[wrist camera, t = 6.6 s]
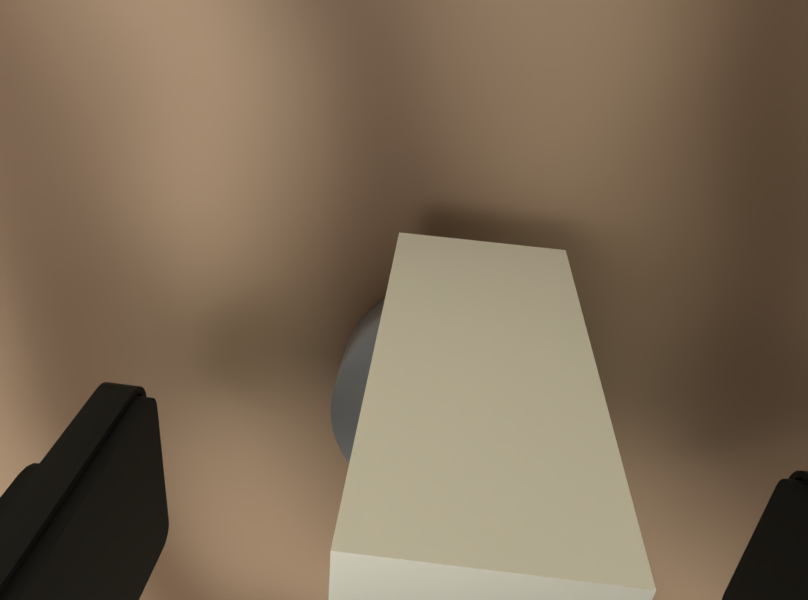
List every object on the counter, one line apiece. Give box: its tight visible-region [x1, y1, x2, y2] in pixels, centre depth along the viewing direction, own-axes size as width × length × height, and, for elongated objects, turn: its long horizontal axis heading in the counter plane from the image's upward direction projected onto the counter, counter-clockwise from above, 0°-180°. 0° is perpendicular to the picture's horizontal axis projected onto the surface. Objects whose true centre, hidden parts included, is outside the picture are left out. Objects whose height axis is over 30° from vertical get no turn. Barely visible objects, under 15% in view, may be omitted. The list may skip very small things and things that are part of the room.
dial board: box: [0, 0, 808, 600], centre depth 14 cm, size 23×23×2 cm
